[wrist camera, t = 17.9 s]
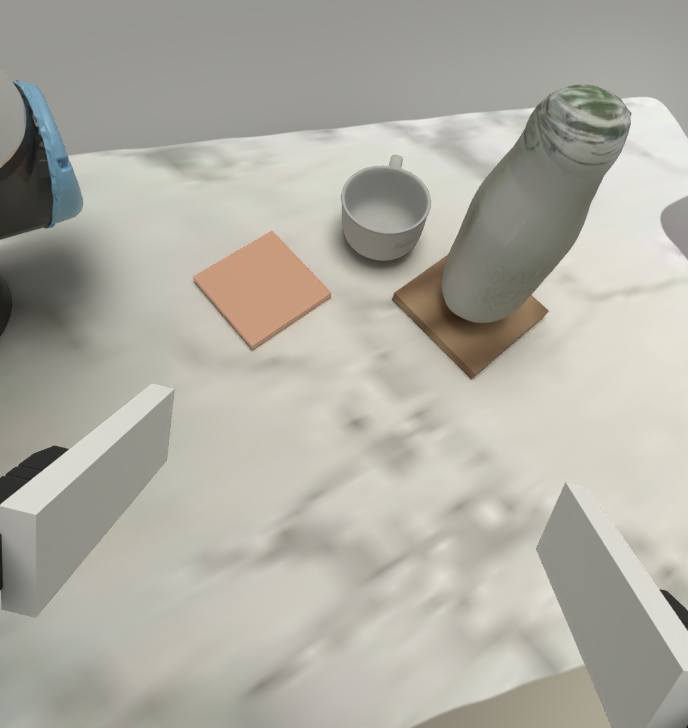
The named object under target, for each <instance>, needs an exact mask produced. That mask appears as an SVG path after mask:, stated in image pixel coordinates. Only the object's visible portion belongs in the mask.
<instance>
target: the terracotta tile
mask: <svg viewBox="0 0 688 728" xmlns="http://www.w3.org/2000/svg"><path fill="white" fill-rule="evenodd" d="M193 279H194V282H195V283H196V284H197V285H198V286H199V288H200V289H201V290H202V291H203V292H204V293H205V295H206V296H207V297H208V298H209V299H210V301H211V302H212V303H213V304H214V305H215V306H216V308H217V309H218V310H219V311H220V312H221V313H222V315H223V316H224V317H225V318H226V319H227V321H228V322H229V323H230V324H231V325H232V326H233V328H234V329H235V330H236V331H237V332H238V333H239V335H240V336H241V337H242V338H243V339H244V341H245V342H246V343H247V344H248V345H249V346H250V348H251V349H252V350H253V349H255V348H256V347H258V346H259V345H261V344H262V343H264V342H265V341H267V340H268V339H270V338H271V337H273V336H274V335H276V334H277V333H279V332H280V331H282V330H283V329H285V328H286V327H288V326H289V325H290V324H292V323H293V322H295V321H296V320H298V319H299V318H301V317H302V316H304V315H305V314H307V313H308V312H310V311H311V310H313V309H314V308H316V307H317V306H319V305H320V304H322V303H323V302H324V301H326V300H327V299H329V298H330V297H331V292H330V291H329V290H328V289H327V288H326V287H325V286H324V285H323V284H322V282H321V281H320V280H319V279H318V278H317V277H316V276H315V275H314V274H313V273H312V272H311V271H310V270H309V269H308V268H307V267H306V266H305V265H304V264H303V263H302V261H301V260H300V259H299V258H298V257H297V256H296V255H295V254H294V253H293V252H292V251H291V250H290V249H289V248H288V247H287V246H286V245H285V244H284V243H283V242H282V240H281V239H280V238H279V237H278V236H277V235H276V234H275V233H274V232H273V231H271V232H269V233H267V234H265V235H264V236H262V237H260V238H259V239H257V240H255V241H253V242H252V243H250V244H248V245H247V246H245V247H243V248H241V249H240V250H238V251H236V252H235V253H233V254H231V255H229V256H228V257H226V258H224V259H223V260H221V261H219V262H217V263H216V264H214V265H212V266H211V267H209V268H207V269H205V270H204V271H202V272H200V273H199V274H197V275H195V276H193Z"/></svg>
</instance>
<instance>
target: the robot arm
mask: <svg viewBox="0 0 688 728" xmlns="http://www.w3.org/2000/svg"><path fill="white" fill-rule="evenodd" d="M82 208H83V198H82V194H81V191H80V187H79V184H78V182H77V179H76V176H75V173H74V171H73V168H72V165H71V163H70V161H69V159H68V155H67V152H66V150H65V146H64V144H63V141H62V138H61V136H60V133H59V131H58V128H57V126H56V123H55V121H54V119H53V116H52V114H51V111H50V109H49V107H48V104H47V102H46V100H45V98H44V96H43V94H42V92H41V90H40V89H39V88H38V86H36V85H35V84H32V83H30V82H20V81H16V82H12V81H11V80H10V78H9V77H8V76H7V75H6V73H4V72H3V71H2V70H1V69H0V240H1V239H5V238H8V237H12V236H15V235H18V234H22V233H25V232H29V231H33V230H36V229H40V228H50V227H53V226H54V225H55V224H56V223H59V222H62V221H64V220H67V219H70V218H73V217H75V216H77V215H78V214H79V213H80V212H81V210H82ZM10 312H11V295H10V291H9V289H8V287H7V285H6V283H5V281H4V280H3V279H2V278H1V277H0V335H1V333H2V332H3V330H4V328H5V326H6V324H7V322H8V319H9V316H10ZM174 390H175V389H173V388H169V387H165V386H160V385H156V384H151V385H149V386H148V387H147V388H146V389H144V390H143V391H142V392H141V393H139V394H138V395H137V396H136V397H134V398H133V399H132V400H131V401H129V402H128V403H127V404H126V405H124V406H123V407H122V408H121V409H119V410H118V411H117V412H116V413H114V414H113V415H112V416H110V417H109V418H108V419H107V420H105V421H104V422H103V423H102V424H100V425H99V426H98V427H97V428H95V429H94V430H93V431H92V432H90V433H89V434H88V435H87V436H85V437H84V438H83V439H82V440H80V441H79V442H78V443H77V444H75V445H74V446H73V447H72V448H70V449H66V448H62V447H58V446H52V447H50V448H47V449H44V450H42V451H39V452H37V453H34V454H33V455H31V456H30V457H28V458H27V459H26V460H24V461H23V462H22V463H20V464H19V465H18V467H15V468H13V469H12V470H11V471H9V472H8V473H6V476H5V477H4V476H2V477H1V478H0V590H1V599H2V610H6V611H11V612H15V613H19V614H23V615H27V616H31V617H35V618H36V617H37V616H38V615H39V613H40V612H41V611H42V610H43V609H44V607H45V606H46V605H47V604H48V603H49V601H50V600H51V599H52V598H53V597H54V595H55V594H56V593H57V592H58V591H59V589H60V588H61V587H62V586H63V585H64V583H65V582H66V581H67V580H68V579H69V577H70V576H71V575H72V574H73V573H74V571H75V570H76V569H77V568H78V567H79V565H80V564H81V563H82V562H83V561H84V559H85V558H86V557H87V556H88V555H89V553H90V552H91V551H92V550H93V548H94V547H95V546H96V545H97V544H98V542H99V541H100V540H101V539H102V538H103V536H104V535H105V534H106V533H107V532H108V530H109V529H110V528H111V527H112V526H113V524H114V523H115V522H116V521H117V520H118V518H119V517H120V516H121V515H122V514H123V512H124V511H125V510H126V509H127V508H128V506H129V505H130V504H131V503H132V502H133V500H134V499H135V498H136V497H137V496H138V494H139V493H140V492H141V491H142V490H143V488H144V487H145V486H146V485H147V484H148V482H149V481H150V480H151V479H152V478H153V476H154V475H155V474H156V473H157V472H158V470H159V469H160V468H161V467H162V466H163V464H164V463H165V462H166V461H167V454H168V445H169V436H170V427H171V417H172V408H173V399H174ZM536 550H537V552H538V555H539V557H540V559H541V562H542V564H543V567H544V569H545V571H546V574H547V576H548V578H549V581H550V583H551V585H552V588H553V590H554V593H555V595H556V597H557V600H558V602H559V604H560V607H561V609H562V611H563V614H564V616H565V619H566V621H567V623H568V626H569V628H570V630H571V633H572V635H573V637H574V640H575V642H576V644H577V647H578V649H579V652H580V654H581V656H582V659H583V661H584V663H585V666H586V668H587V670H588V673H589V675H590V677H591V680H592V682H593V684H594V687H595V689H596V692H597V694H598V696H599V699H600V701H601V704H602V706H603V708H604V711H605V713H606V715H607V718H608V720H609V722H610V725H611V727H612V728H688V611H687V609H686V608H685V607H684V606H683V605H681V604H680V603H679V602H678V601H677V600H676V599H675V598H674V597H673V596H672V595H671V594H670V593H668V592H667V591H665V590H661V589H658V587H657V586H656V584H655V583H654V581H653V580H652V579H651V577H650V576H649V574H648V573H647V571H646V570H645V568H644V567H643V566H642V564H641V563H640V561H639V560H638V558H637V557H636V556H635V554H634V553H633V551H632V550H631V548H630V547H629V545H628V544H627V543H626V541H625V540H624V538H623V537H622V535H621V534H620V532H619V531H618V530H617V528H616V527H615V525H614V524H613V522H612V521H611V519H610V518H609V517H608V515H607V514H606V512H605V511H604V509H603V508H602V506H601V505H600V504H599V502H598V501H597V499H596V498H595V496H594V495H593V493H592V492H591V491H590V489H589V488H588V487H584V486H580V485H575V484H571V483H567V482H565V485H564V487H563V489H562V491H561V494H560V496H559V498H558V500H557V503H556V505H555V507H554V509H553V512H552V514H551V516H550V518H549V521H548V523H547V525H546V527H545V530H544V532H543V534H542V536H541V539H540V541H539V543H538V545H537V548H536Z"/></svg>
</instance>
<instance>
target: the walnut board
mask: <svg viewBox="0 0 688 728" xmlns="http://www.w3.org/2000/svg"><path fill="white" fill-rule="evenodd" d="M447 257H448V255H447V256H446V257H444V258H443V259H441V260H440V261H439V262H437V263H436V264H434V265H433V266H432V267H430V268H429V269H427V270H426V271H425V272H423V273H422V274H420V275H419V276H418V277H416V278H415V279H413V280H412V281H411V282H409V283H408V284H406V285H405V286H404V287H402V288H401V289H399V290H398V291H397V292H395V293H394V296H393V298H392V300H393V301H394V302H395V303H396V304H397V305H398V306H399V307H400V308H401V309H402V310H403V311H404V312H405V313H406V314H407V315H408V316H409V317H410V318H411V319H412V320H413V321H414V322H415V323H416V324H417V325H418V326H419V327H420V328H421V329H422V330H423V331H424V332H425V333H426V334H427V335H428V336H429V337H430V338H431V339H432V340H433V341H434V342H435V343H436V344H437V345H438V346H439V347H440V348H441V349H442V350H443V351H444V352H445V353H446V354H447V355H448V356H449V357H450V358H451V359H452V360H453V361H454V362H455V363H456V364H457V365H458V366H459V367H460V368H461V369H462V370H463V371H464V372H465V373H466V374H467V375H468V376H469V377H470V378H471V379H472V378H473V377H474V376H475V375H477V374H478V373H479V372H480V371H481V370H482V369H484V368H485V367H486V366H487V365H488V364H489V363H491V362H492V361H493V360H494V359H495V358H496V357H498V356H499V355H500V354H501V353H502V352H503V351H504V350H506V349H507V348H508V347H509V346H510V345H511V344H513V343H514V342H515V341H516V340H517V339H518V338H520V337H521V336H522V335H523V334H524V333H525V332H527V331H528V330H529V329H530V328H531V327H532V326H533V325H535V324H536V323H537V322H538V321H539V320H540V319H542V318H543V317H544V316H545V315H546V314H547V313H548V310H547V309H546V308H545V307H544V306H543V305H542V304H541V303H540V302H538V301H537V300H536V299H535V298H534V297H533V296H532V295H531V296H530V297H529V298H528V299H527V300H526V302H525V303H524V304H523V305H522V306H521V307H520V308H519V309H517V310H516V311H515V312H514V313H512V314H511V315H509V316H507V317H505V318H503V319H501V320H498V321H494V322H489V323H475V322H471V321H468V320H465V319H463V318H461V317H459V316H457V315H456V314H454V313H453V312H452V311H451V310H450V309H449V308H448V307H447V305H446V302H445V299H444V297H443V294H442V284H441V280H442V274H443V270H444V266H445V262H446V259H447Z"/></svg>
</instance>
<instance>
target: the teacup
mask: <svg viewBox="0 0 688 728" xmlns="http://www.w3.org/2000/svg"><path fill="white" fill-rule="evenodd" d="M402 162H403V158H402V157H401V156H398V155H393V156H392V157H391V160H390V164H389V166H373V167H368V168H365V169H362V170H360V171H358V172H357V173H355V174H354V175H352V176H351V177H350V178H349V179H348V181H347V182H346V183H345V185H344V187H343V190H342V195H341V200H342V226H343V232H344V235H345V238H346V240H347V241H348V243H349V244H350V246H351V247H352V248H353V249H354V250H355V251H356V252H358V253H359V254H361V255H363V256H365V257H367V258H370V259H373V260H379V261H387V260H393V259H397V258H400V257H402V256H404V255H405V254H407V253H408V252H409V251H410V250H412V248H413V247H414V246H415V245H416V243H417V242H418V240H419V238H420V236H421V233H422V231H423V228H424V224H425V221H426V218H427V216H428V214H429V211H430V208H431V198H430V194H429V191H428V189H427V187H426V186H425V184H424V183H423V182H422V181H421V180H420V179H419V178H418V177H417V176H415V175H414V174H412V173H410V172H408V171H406V170H403V169H401V166H402Z"/></svg>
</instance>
